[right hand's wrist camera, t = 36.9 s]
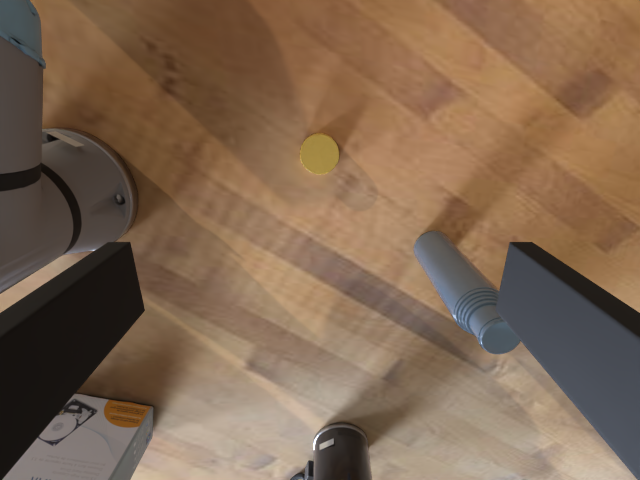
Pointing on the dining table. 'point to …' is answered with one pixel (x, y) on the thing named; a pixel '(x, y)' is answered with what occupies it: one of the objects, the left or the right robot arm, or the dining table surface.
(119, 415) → the hard drive box
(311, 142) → the cap
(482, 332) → the bottle
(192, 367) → the dining table surface
